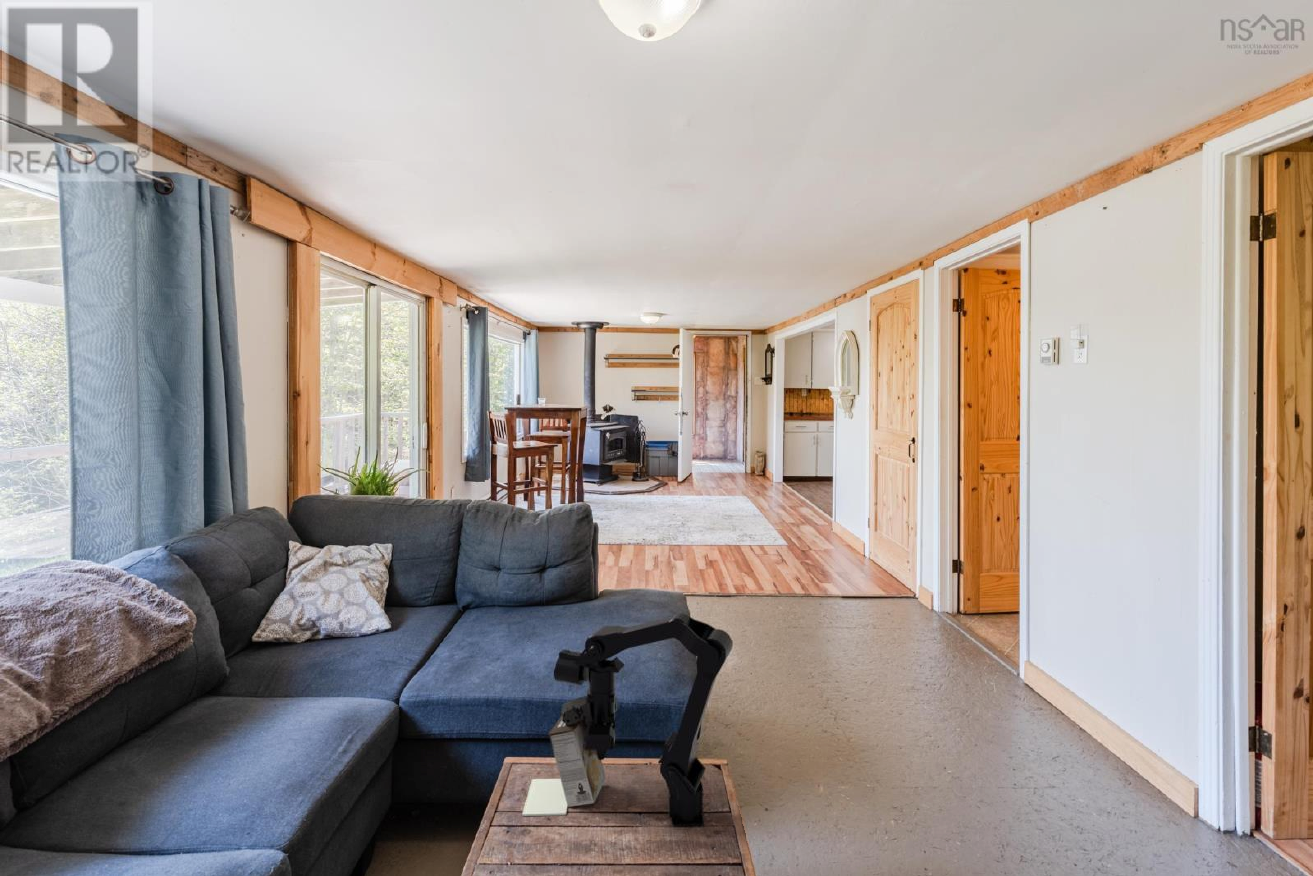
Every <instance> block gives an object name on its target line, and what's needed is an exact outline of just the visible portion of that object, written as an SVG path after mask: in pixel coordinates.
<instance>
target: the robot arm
mask: <svg viewBox="0 0 1313 876" xmlns="http://www.w3.org/2000/svg"><path fill="white" fill-rule="evenodd" d="M670 639H676V640H677V641H678V642H680V644H682V646H683V647H684V648H685V649H686V650H687V651H688V652H689V653H691V654H692V655H694V656H695V657H696V661H695V679H694V682H693V685H692V686H691V691H690V694H689V696H688V701H687V703H686V706H685V709H684V713H683V715H682V718H681V722H680V724H679V728H678V730H677V732H675V731H674V730H672V732H671V733H670V735H669V736H668V738H666V739H667V740H665V743H664V744H663V747H662V754H661V756H660V758H659V759H658V761H657V763H658V764H660V765H659V773H660V775H661V776H662V779H664V780H665V781H664V782H666V786H667V790H668V816H669V817H670V818H671V824H672V826H674V827H680V826H681V827H682V826H684V827H685V826H689V827H690V826H704V825H705V818H704V813H703V812H704V806H703V805H704V804H703V803H704V793H703V792H704V790H703V789H704V788H703V782H702V779H703V777H704V775H705V773H706V767H705V766H704V764H703V763H702V762H701V761H700V759H699V758H698V757H697V756H696V755H697V751H698V750H697V749H698V744H697V743H698V742H697V741H698V734H699V730H700V727H701V724H702V721H703V719H704V715H705V713H706V709H707V706H708V702H709V701H710V697H711V694H712V690H713V688H714V685H715V682H716V678H717V676H718V675H719V673H720V672H721V669H722V668H723V666H724V664H725V662H726V660H727V658H728V657H729V655H730V653H731V652H732V649H733V645H734V643H733V640H732V637H731V636H730V634H729V633H728V632H727V631H725V630H723V629H720V628H715V627H713V626H712V625H710V624H709V623H706V622H704V621H702V620H698V619H694V618H693V617H692V616H689V615H687V614H686V613H682V612H680V613H677V614H675V615H672V616H668V617H663V618H660V619H656V620H652V621H648V622H643V623H639V624H635V625H631V626H619V625H607V626H602V627H600V628H598V629H596V631H595V632H594V633H592V634H590V635H589V636H588V637H587V638H586V640H585V643H584V649H583V651H582V652H578V651H571V650H569V649H562V650H561V651H560V652H558V658H557V660H556V663H555V666H554V669H553V678H554V681H556V682H558V683H563V684H569V685H575V686H582V685H583V684H584V683H585V682H588V689H587V695H585V696H580V697H576V698H574V699H572V700H568V701H566V702H565V703H563V704H562V707H561V710H560V711H561V712H560V713H561V716H563V719H562V721H563V722H564V723H565V724H566V726H570V725H572V724H574V723H577V722H579V721H581V720H584V719H585V718H586V723H588V728H587V729H586V730H585V734H584V749H586V750H596V751H597V755H598V759H599V760H601V761H604V759H605V757H606V756H607V755H606V754H607V752H608V750H613V749H615V741H616V737H615V735H616V729H615V728H616V723H617V720H616V718H615V717H616V716H615V713H616V712H617V711H618V709H617V708H618V698H617V697H616V686H615V685H616V673H617V674H619V672H621V670H622V669H623V668H624V667H625V663H624V662H622V661H621V660H620V659H619V657H618V656H616V655H618V654H620V653H621V652H623V651H625V650H628V649H631V648H632V649H633V648H635V647H640V646H645V645H649V644H653V643H657V642H662V641H667V640H670ZM612 657H614V658H613V659H610V658H612Z"/></svg>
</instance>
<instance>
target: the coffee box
mask: <svg viewBox="0 0 1313 876" xmlns="http://www.w3.org/2000/svg"><path fill="white" fill-rule="evenodd" d="M562 719H563V716H562V715H561V716H560V717H559V719H558V720H557V722H556V723H555V725H554V726H553V727H552V728H551V730H550V731H549V733H548V736H549V740H550V744H551V747H552V752H553V756H554V759H555V762H556V763H555V764H556V766H557V771H558V775H559V779H561V783H562V787H563V790H564V794H565V798H566V802H567V808H571V807H577V806H583V805H591V804H594V803H595V802H596V800H597V799H598V797H599V794H600V792H601V789H602V787H603V785H604V783H605V781H606V779H607V776H606V772H605V768H604V765H603V762H602V761H603V760H599V759H598V755H597V751H596V750H586V749H584V734H585V730H586V729H587V728H588V723H586V718H585V719H584V720H581V721H579V722H577V723H574V724H572V725H570V726H566V724H565V723H564V722H563V721H562Z"/></svg>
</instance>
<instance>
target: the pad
mask: <svg viewBox="0 0 1313 876" xmlns="http://www.w3.org/2000/svg"><path fill="white" fill-rule="evenodd" d="M525 799H526V800H525V803H524V807H523V810H522V813H521V816H522V817H541V816H542V817H546V816H548V817H549V816H550V817H551V816H552V817H553V816H567V811H568V806H567V802H566V798H565V794H564V790H563V787H562V783H561V779H560V778H532V779H531V782H530V786H529V790H528V792H527V795H526V798H525Z"/></svg>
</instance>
